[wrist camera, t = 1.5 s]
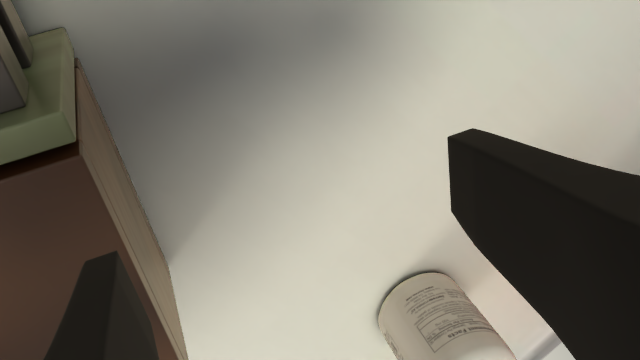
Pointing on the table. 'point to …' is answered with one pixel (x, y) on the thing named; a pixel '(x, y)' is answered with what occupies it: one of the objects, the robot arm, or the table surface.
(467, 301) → the pill bottle
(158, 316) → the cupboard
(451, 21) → the table surface
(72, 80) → the green handled slab
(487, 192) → the robot arm
